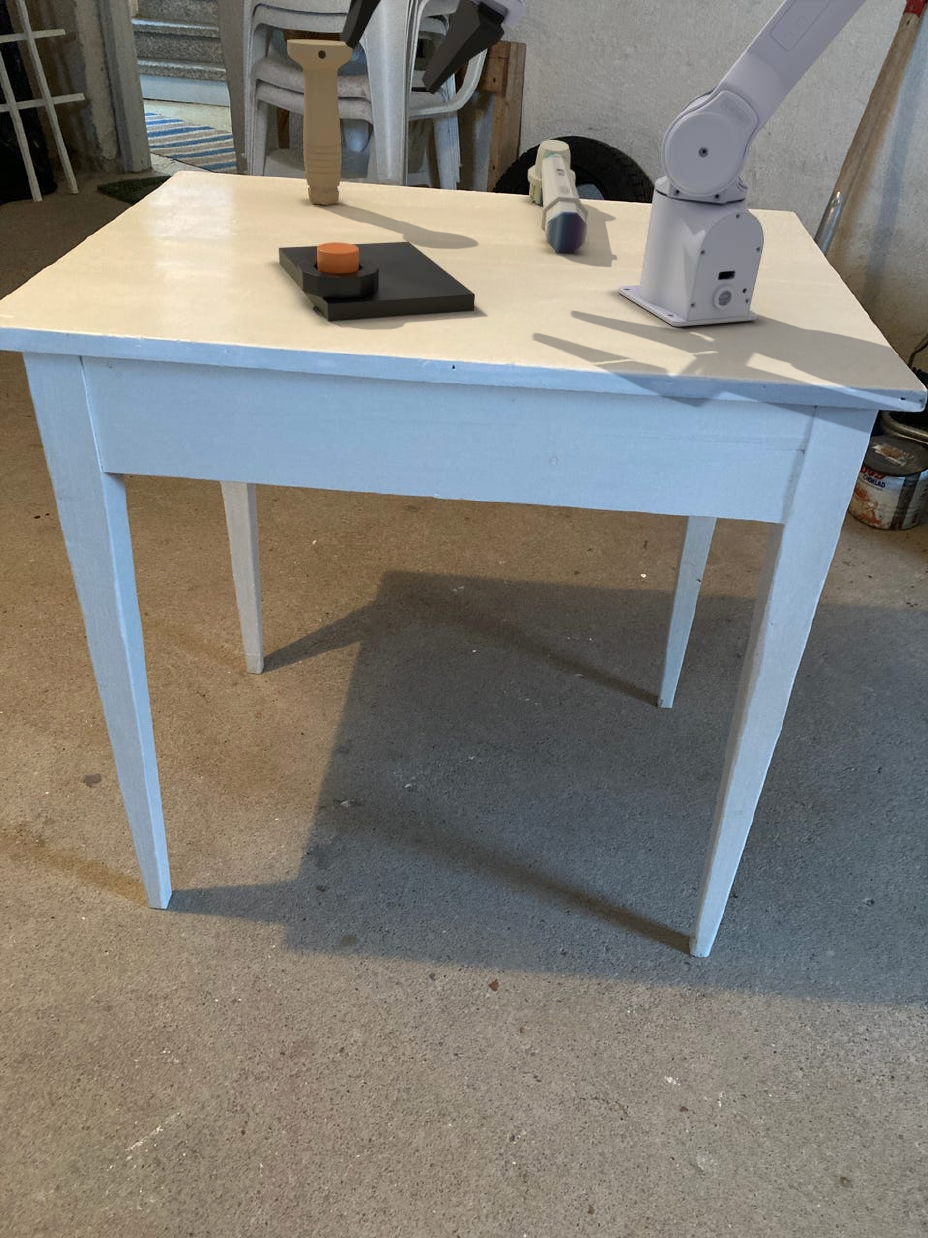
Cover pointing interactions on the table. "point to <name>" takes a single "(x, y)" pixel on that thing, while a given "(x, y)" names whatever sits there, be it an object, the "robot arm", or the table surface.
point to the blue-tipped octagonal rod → (558, 197)
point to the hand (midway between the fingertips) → (388, 64)
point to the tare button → (338, 258)
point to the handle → (321, 114)
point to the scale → (378, 283)
